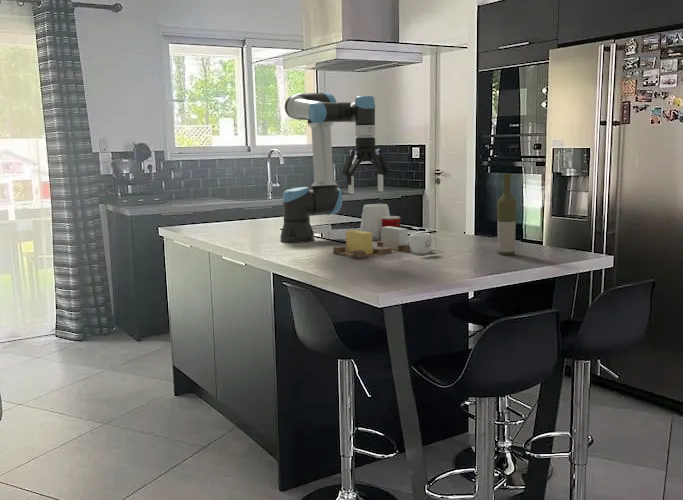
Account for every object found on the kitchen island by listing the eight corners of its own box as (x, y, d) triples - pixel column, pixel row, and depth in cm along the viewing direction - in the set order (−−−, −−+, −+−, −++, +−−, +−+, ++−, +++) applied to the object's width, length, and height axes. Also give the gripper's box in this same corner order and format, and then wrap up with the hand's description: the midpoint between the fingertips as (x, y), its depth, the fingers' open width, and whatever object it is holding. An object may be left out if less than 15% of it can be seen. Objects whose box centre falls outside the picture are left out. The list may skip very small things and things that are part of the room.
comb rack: (333, 253, 269) (333, 246, 269) (383, 247, 282) (383, 240, 281) (358, 259, 254) (358, 252, 254) (410, 252, 267) (410, 245, 266)
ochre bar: (372, 253, 261) (372, 232, 259) (363, 254, 259) (363, 233, 257) (355, 250, 271) (354, 229, 269) (346, 251, 269) (345, 230, 267)
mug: (418, 256, 256) (417, 236, 255) (405, 254, 263) (404, 233, 262) (443, 253, 262) (443, 233, 261) (430, 250, 269) (430, 230, 268)
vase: (387, 241, 297) (386, 206, 295) (356, 240, 302) (355, 206, 300) (395, 236, 311) (395, 203, 308) (365, 236, 315) (365, 203, 313)
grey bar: (381, 246, 277) (381, 226, 276) (389, 245, 279) (389, 226, 278) (399, 250, 267) (399, 229, 266) (407, 249, 269) (407, 228, 268)
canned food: (399, 243, 289) (399, 217, 287) (380, 243, 291) (380, 218, 289) (401, 241, 296) (401, 215, 295) (383, 241, 298) (382, 215, 296)
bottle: (519, 254, 255) (521, 173, 250) (505, 256, 252) (506, 174, 247) (506, 252, 261) (507, 172, 257) (492, 253, 258) (493, 173, 253)
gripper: (342, 137, 255) (343, 195, 258) (397, 136, 267) (397, 190, 271) (332, 137, 261) (333, 193, 265) (386, 136, 274) (387, 189, 277)
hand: (366, 192), depth 268 cm, fingers open, 13 cm apart
